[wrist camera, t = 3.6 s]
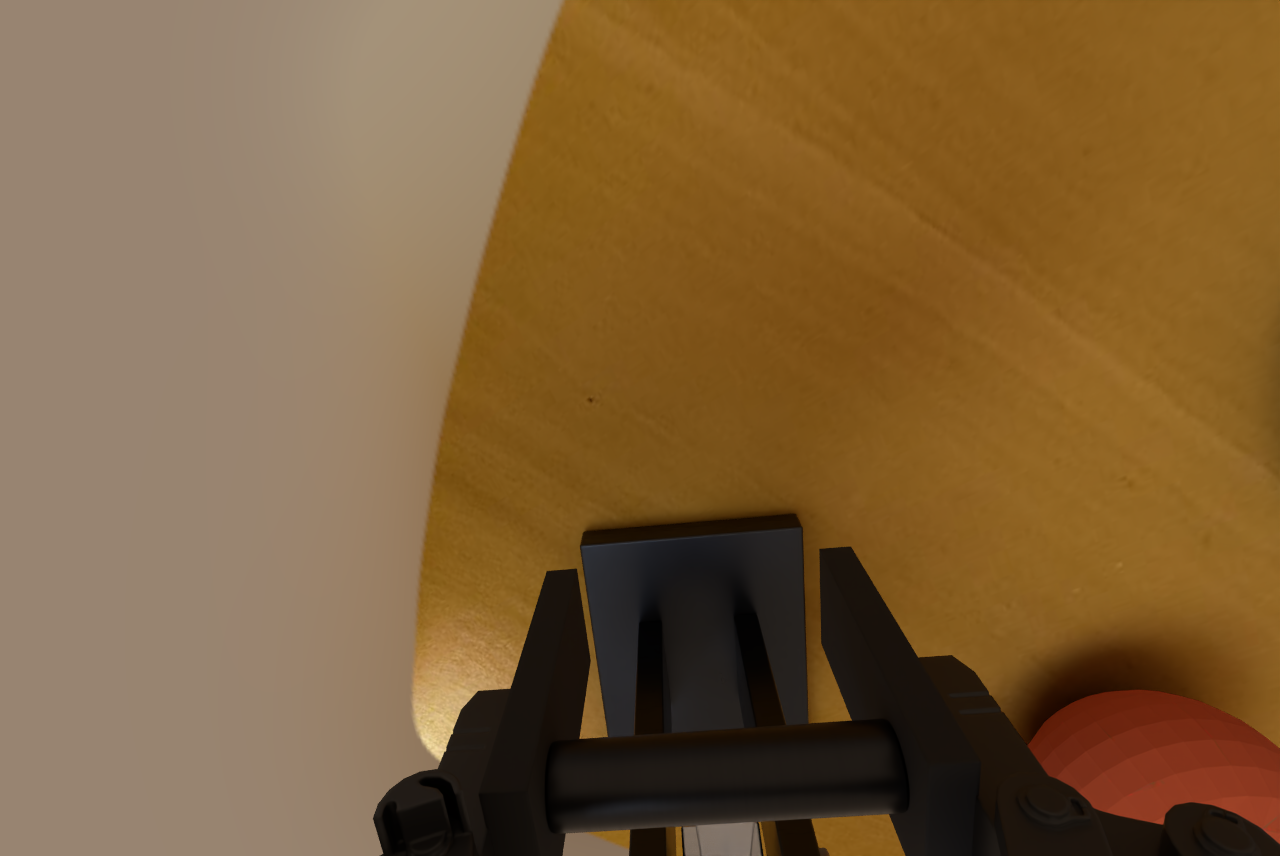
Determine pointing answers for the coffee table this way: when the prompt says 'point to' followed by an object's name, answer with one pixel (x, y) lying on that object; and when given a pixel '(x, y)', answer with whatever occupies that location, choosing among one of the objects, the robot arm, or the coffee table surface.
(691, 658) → the bracket
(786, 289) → the coffee table surface
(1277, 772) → the tomato
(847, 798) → the lever
